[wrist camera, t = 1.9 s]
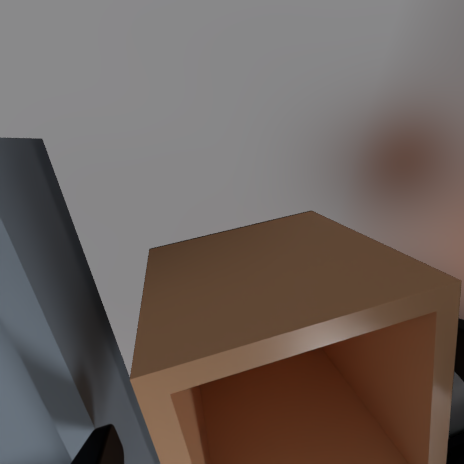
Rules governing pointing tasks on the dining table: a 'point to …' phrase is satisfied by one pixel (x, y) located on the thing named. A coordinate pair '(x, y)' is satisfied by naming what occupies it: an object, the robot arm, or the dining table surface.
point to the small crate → (295, 348)
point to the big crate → (54, 327)
